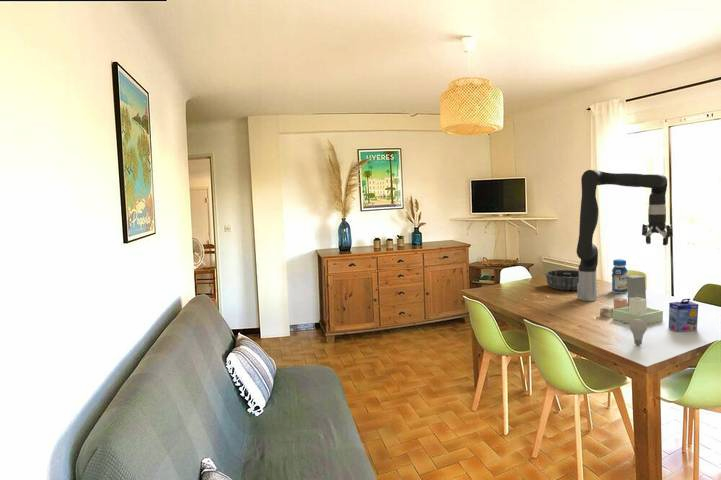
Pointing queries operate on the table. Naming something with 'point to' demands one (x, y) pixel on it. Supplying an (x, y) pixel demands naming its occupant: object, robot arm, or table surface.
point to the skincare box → (636, 287)
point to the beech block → (606, 312)
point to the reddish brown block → (620, 303)
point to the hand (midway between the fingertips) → (656, 244)
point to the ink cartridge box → (683, 316)
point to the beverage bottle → (619, 276)
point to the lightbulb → (638, 330)
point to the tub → (648, 318)
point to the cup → (637, 306)
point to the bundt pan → (563, 279)
